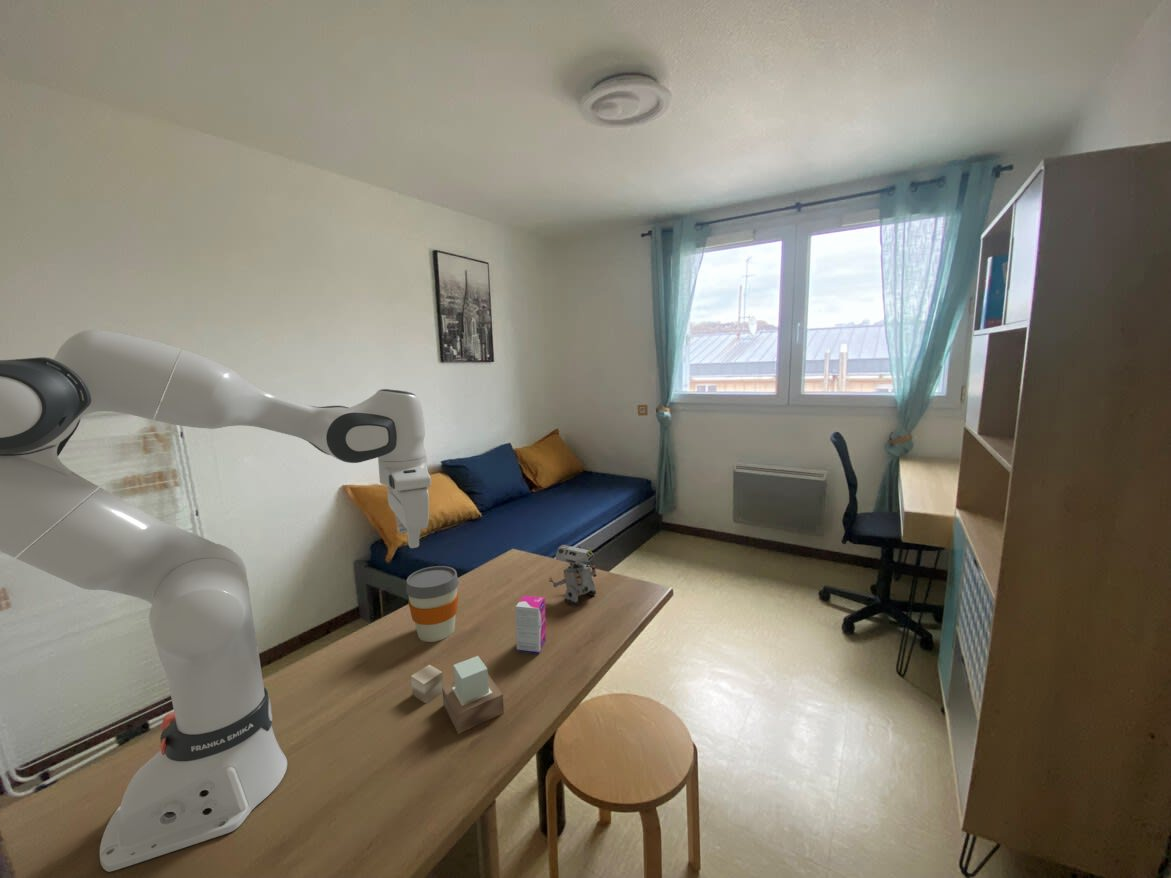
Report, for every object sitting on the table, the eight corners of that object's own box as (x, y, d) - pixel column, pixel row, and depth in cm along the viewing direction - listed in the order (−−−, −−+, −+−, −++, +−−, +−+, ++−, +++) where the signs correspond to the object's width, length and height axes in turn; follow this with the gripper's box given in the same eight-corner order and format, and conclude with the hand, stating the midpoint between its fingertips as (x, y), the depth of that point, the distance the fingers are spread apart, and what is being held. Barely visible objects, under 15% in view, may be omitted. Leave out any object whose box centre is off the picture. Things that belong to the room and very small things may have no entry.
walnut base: (458, 733, 86) (456, 713, 85) (443, 705, 93) (442, 686, 92) (503, 712, 90) (502, 693, 90) (486, 687, 98) (485, 669, 97)
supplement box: (540, 654, 108) (538, 608, 107) (516, 652, 110) (513, 606, 108) (547, 640, 114) (545, 596, 112) (524, 637, 115) (521, 594, 113)
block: (425, 703, 94) (423, 684, 93) (412, 695, 96) (410, 675, 96) (443, 691, 97) (442, 672, 96) (431, 683, 100) (429, 664, 99)
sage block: (463, 702, 88) (461, 678, 87) (455, 688, 92) (453, 664, 91) (489, 692, 90) (487, 668, 90) (479, 678, 94) (478, 655, 94)
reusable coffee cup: (442, 649, 111) (437, 591, 109) (399, 641, 115) (393, 584, 113) (471, 622, 123) (467, 568, 121) (431, 615, 127) (427, 563, 125)
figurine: (570, 585, 142) (568, 538, 140) (600, 596, 135) (599, 547, 132) (549, 597, 135) (547, 548, 133) (579, 609, 128) (578, 558, 125)
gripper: (377, 465, 99) (382, 528, 101) (396, 484, 82) (402, 559, 84) (408, 461, 102) (412, 522, 104) (433, 479, 85) (437, 551, 87)
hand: (408, 539), depth 94 cm, fingers open, 8 cm apart
